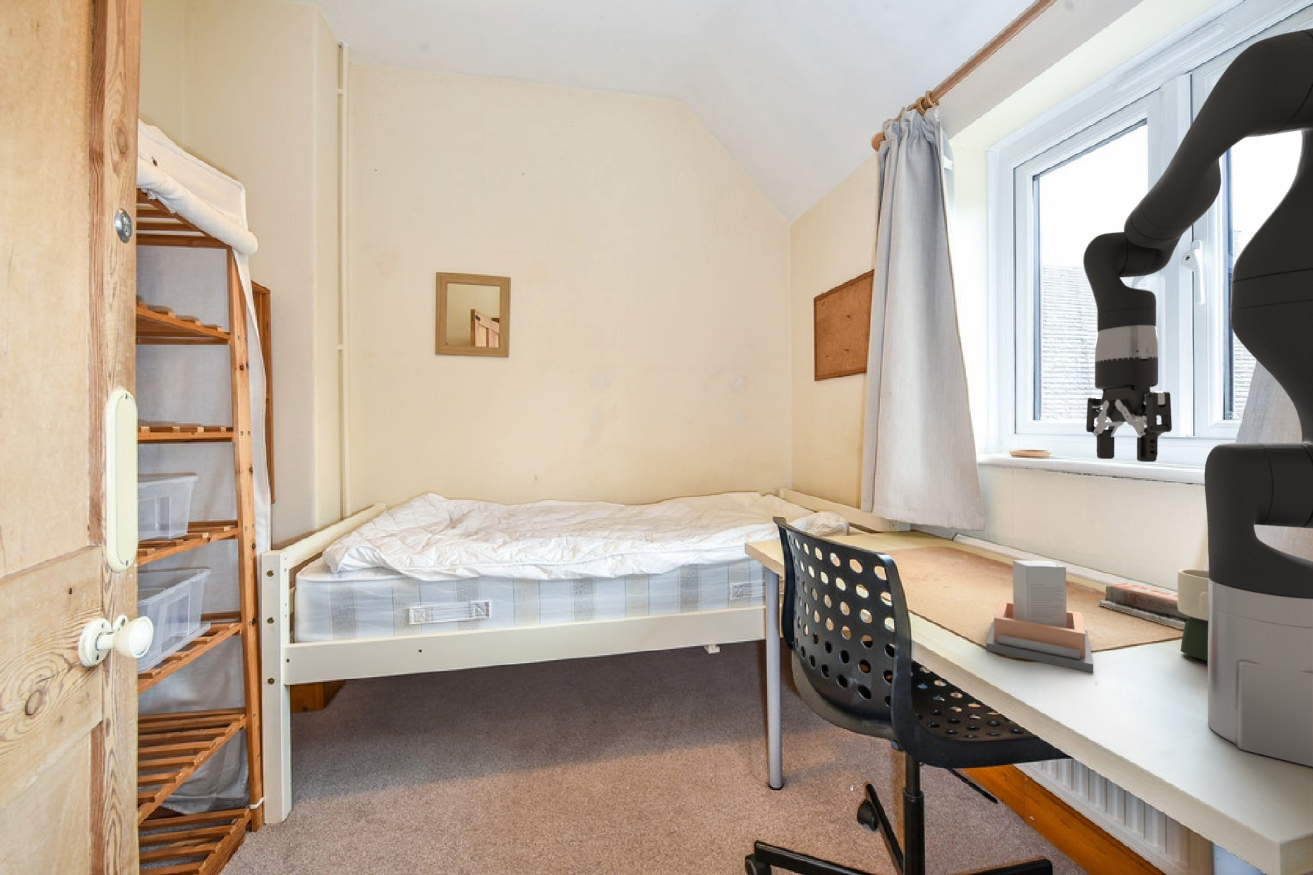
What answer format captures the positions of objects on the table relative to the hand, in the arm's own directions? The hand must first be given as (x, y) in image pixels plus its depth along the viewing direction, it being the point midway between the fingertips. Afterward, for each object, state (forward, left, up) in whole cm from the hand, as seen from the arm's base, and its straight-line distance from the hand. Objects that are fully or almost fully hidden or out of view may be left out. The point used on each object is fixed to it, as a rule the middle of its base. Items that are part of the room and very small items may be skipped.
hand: (1125, 460), depth 84 cm
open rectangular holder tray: (-6, +11, -30) cm, 33 cm away
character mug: (+2, -10, -30) cm, 32 cm away
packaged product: (+23, -8, -31) cm, 39 cm away
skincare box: (-6, +11, -29) cm, 32 cm away
